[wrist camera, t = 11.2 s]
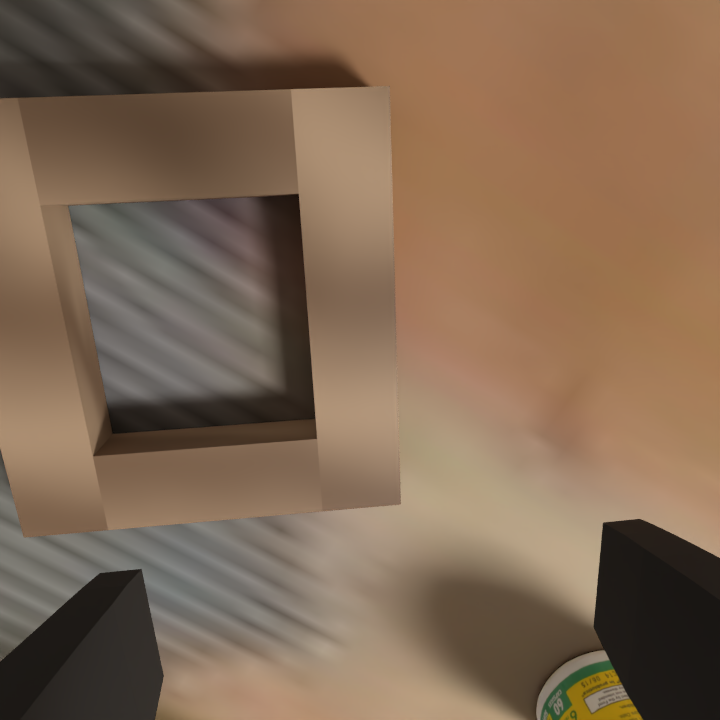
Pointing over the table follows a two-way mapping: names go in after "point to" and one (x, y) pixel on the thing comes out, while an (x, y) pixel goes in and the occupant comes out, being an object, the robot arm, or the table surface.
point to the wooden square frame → (194, 182)
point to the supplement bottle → (585, 692)
